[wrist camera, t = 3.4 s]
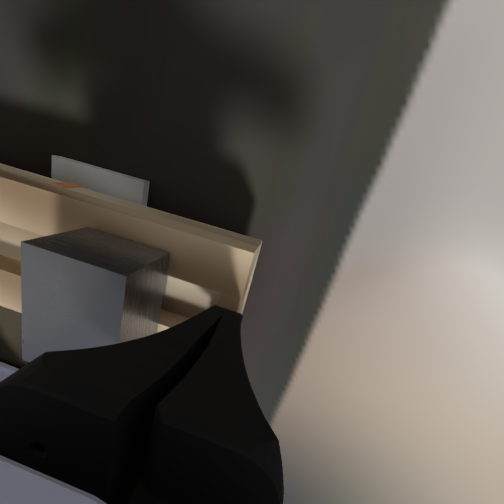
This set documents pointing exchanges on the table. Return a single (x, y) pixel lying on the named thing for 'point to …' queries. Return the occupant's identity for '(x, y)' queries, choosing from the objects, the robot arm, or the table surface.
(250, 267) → the tan slotted track
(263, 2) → the table surface
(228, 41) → the table surface
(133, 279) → the block
